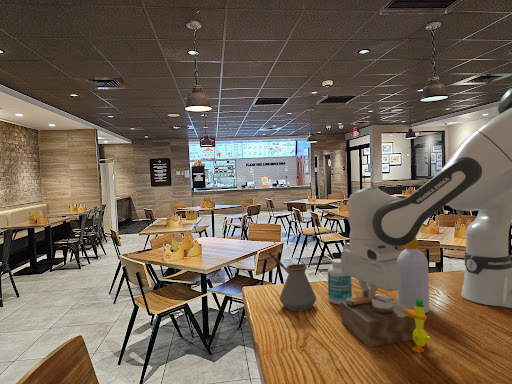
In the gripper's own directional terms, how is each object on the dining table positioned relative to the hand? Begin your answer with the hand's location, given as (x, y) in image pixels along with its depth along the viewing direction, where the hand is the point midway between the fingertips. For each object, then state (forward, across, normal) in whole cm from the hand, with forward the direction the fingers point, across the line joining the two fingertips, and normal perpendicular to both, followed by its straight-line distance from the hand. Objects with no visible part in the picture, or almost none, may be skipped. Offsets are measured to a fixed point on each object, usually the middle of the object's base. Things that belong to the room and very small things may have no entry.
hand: (368, 297), depth 93 cm
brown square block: (+7, +4, 0) cm, 8 cm away
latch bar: (+1, 0, -1) cm, 1 cm away
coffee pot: (+7, -25, -12) cm, 29 cm away
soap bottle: (+8, -2, +18) cm, 20 cm away
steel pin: (+6, +6, -1) cm, 9 cm away
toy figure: (+8, +16, 0) cm, 17 cm away
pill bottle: (+8, -18, +3) cm, 20 cm away
